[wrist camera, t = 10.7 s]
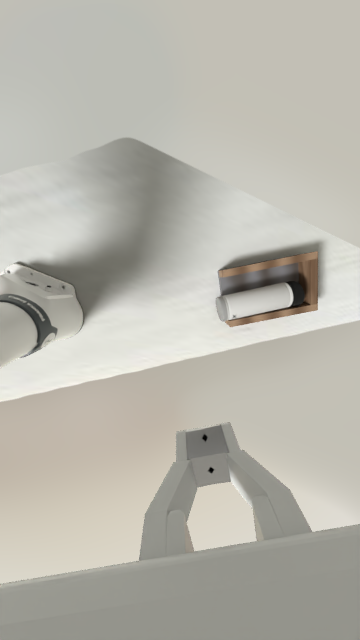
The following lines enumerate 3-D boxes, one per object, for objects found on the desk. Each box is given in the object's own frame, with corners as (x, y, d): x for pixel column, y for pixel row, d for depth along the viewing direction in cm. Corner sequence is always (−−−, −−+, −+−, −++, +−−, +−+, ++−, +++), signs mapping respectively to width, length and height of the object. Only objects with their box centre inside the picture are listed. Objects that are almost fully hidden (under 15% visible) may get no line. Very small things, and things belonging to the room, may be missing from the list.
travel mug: (224, 326, 42) (307, 308, 41) (220, 300, 40) (308, 280, 39) (217, 318, 48) (290, 302, 47) (214, 294, 46) (290, 278, 45)
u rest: (224, 321, 49) (230, 327, 44) (217, 270, 45) (223, 270, 40) (302, 306, 48) (317, 310, 43) (301, 253, 45) (317, 251, 40)
